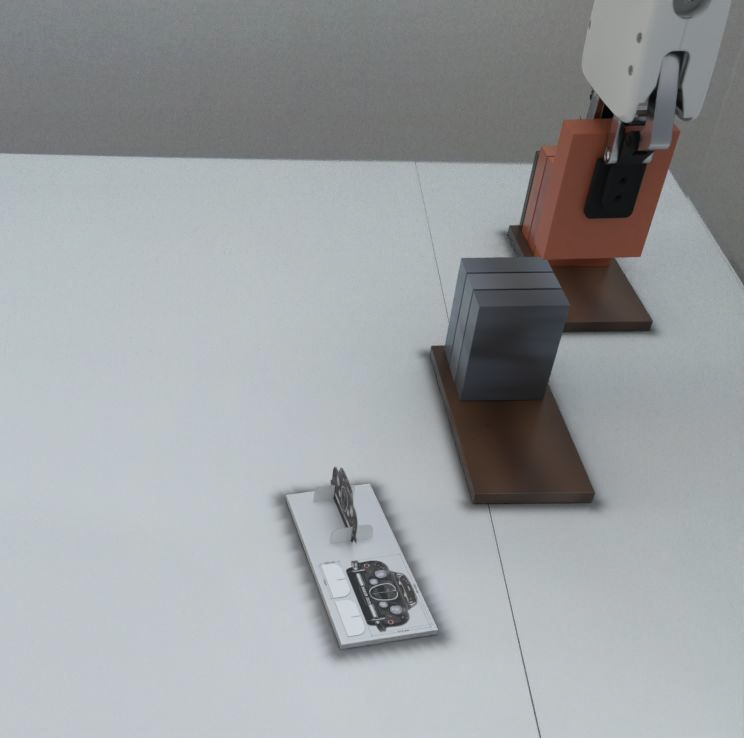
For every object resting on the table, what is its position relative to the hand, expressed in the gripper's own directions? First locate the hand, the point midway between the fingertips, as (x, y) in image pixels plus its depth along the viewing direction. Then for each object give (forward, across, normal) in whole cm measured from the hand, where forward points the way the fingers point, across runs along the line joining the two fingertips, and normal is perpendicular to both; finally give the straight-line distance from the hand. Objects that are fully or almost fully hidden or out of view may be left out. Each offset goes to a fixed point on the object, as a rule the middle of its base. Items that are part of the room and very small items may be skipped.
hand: (600, 203), depth 68 cm
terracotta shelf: (+19, +22, -9) cm, 31 cm away
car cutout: (+19, -16, +17) cm, 30 cm away
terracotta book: (+4, 0, 0) cm, 4 cm away
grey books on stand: (+19, 0, +3) cm, 19 cm away
